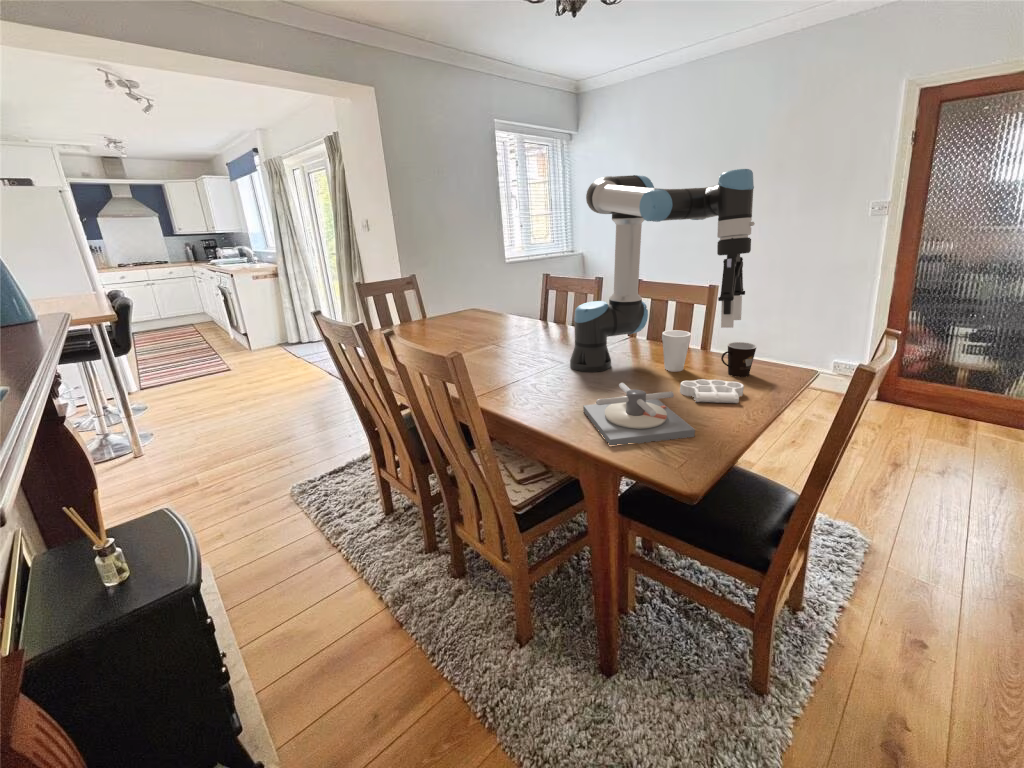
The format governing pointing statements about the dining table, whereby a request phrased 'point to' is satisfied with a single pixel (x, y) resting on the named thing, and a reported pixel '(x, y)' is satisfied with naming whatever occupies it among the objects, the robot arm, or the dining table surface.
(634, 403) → the capstan
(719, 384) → the white brass knuckles
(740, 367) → the coffee mug
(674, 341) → the foam cup
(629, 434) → the dial board
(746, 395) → the dining table surface
